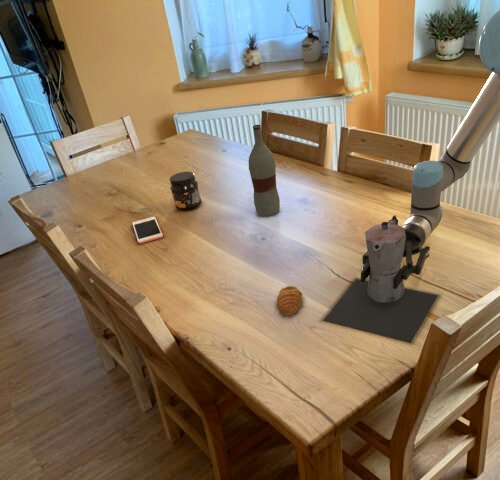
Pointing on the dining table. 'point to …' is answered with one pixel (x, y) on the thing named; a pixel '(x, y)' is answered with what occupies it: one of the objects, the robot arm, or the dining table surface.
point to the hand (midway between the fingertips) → (378, 280)
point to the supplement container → (185, 191)
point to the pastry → (289, 300)
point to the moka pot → (385, 260)
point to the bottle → (263, 177)
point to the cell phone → (147, 230)
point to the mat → (382, 312)
